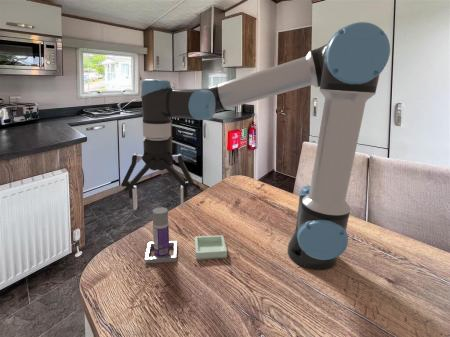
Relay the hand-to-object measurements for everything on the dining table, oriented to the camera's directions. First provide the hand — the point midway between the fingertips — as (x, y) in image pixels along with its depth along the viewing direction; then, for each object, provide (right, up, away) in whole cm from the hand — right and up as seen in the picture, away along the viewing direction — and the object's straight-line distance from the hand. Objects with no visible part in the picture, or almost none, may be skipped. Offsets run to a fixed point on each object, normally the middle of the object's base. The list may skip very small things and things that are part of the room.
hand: (159, 207), depth 85 cm
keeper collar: (0, -15, +5) cm, 16 cm away
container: (0, -15, +5) cm, 16 cm away
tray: (+15, -15, +7) cm, 22 cm away
